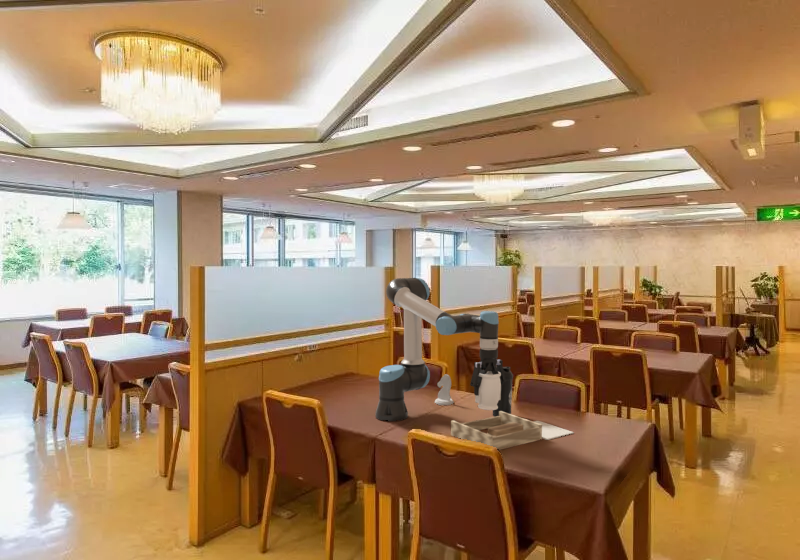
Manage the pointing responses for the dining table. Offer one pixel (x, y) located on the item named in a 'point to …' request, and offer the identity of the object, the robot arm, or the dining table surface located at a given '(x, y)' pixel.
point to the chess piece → (444, 391)
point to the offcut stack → (505, 429)
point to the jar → (490, 390)
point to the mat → (552, 431)
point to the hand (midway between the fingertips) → (488, 401)
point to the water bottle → (505, 394)
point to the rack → (528, 434)
